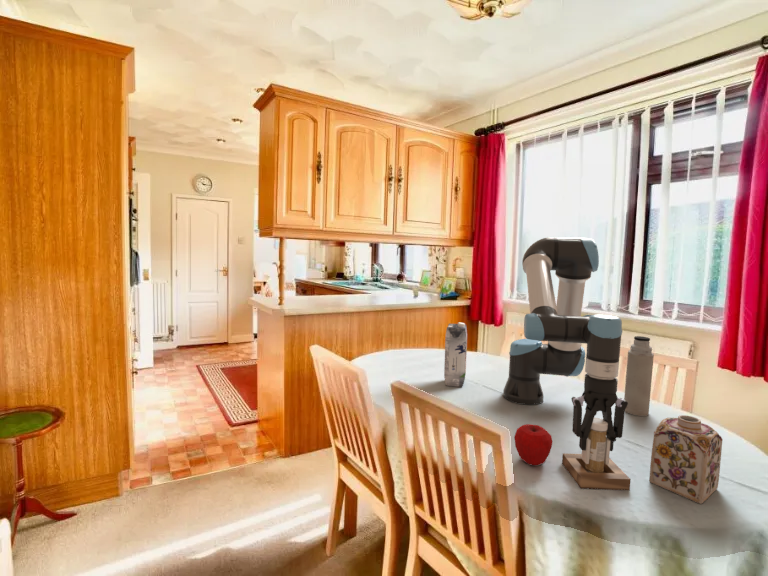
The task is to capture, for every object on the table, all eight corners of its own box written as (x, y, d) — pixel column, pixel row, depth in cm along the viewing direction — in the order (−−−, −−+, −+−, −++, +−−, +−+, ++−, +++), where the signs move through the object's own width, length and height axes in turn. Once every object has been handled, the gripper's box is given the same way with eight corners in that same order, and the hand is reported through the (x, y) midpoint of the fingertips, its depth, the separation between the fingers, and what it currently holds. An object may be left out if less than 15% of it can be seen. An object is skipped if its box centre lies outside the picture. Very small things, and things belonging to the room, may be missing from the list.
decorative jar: (702, 506, 98) (709, 433, 96) (647, 482, 107) (653, 415, 105) (719, 489, 105) (726, 420, 103) (666, 468, 114) (672, 405, 112)
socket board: (561, 463, 116) (562, 453, 115) (605, 465, 115) (606, 454, 115) (580, 488, 104) (581, 477, 103) (629, 490, 103) (630, 479, 103)
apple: (507, 462, 116) (509, 424, 115) (523, 450, 123) (525, 415, 122) (541, 476, 109) (543, 436, 108) (556, 463, 116) (559, 426, 115)
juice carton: (443, 386, 177) (445, 324, 174) (445, 378, 187) (447, 319, 184) (464, 388, 175) (466, 325, 172) (465, 380, 185) (467, 320, 182)
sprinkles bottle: (581, 465, 111) (584, 417, 110) (597, 464, 112) (600, 416, 110) (591, 474, 107) (595, 424, 105) (608, 473, 107) (611, 424, 106)
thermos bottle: (620, 406, 158) (626, 334, 155) (644, 408, 156) (650, 335, 153) (626, 414, 150) (633, 338, 147) (651, 417, 148) (658, 340, 145)
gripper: (573, 379, 103) (567, 468, 106) (644, 381, 102) (636, 470, 105) (561, 370, 110) (556, 453, 113) (627, 371, 110) (620, 455, 112)
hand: (594, 461), depth 109 cm, fingers closed on sprinkles bottle, 4 cm apart
